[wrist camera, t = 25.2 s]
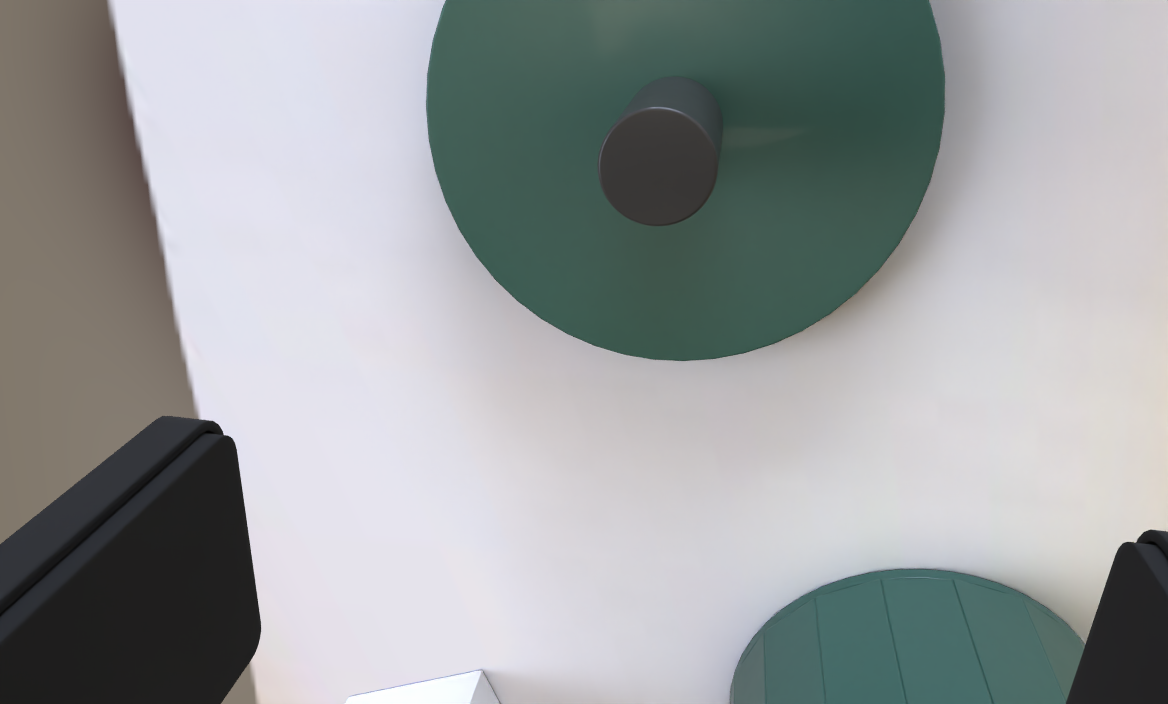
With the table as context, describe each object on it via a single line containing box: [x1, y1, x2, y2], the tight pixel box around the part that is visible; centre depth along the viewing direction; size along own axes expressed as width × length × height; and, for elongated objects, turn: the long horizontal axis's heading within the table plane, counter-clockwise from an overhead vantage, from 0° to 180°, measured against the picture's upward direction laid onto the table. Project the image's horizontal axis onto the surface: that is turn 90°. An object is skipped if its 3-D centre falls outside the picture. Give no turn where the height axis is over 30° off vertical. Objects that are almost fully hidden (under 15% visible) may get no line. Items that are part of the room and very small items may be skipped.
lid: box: [426, 0, 945, 361], centre depth 22 cm, size 14×14×6 cm
